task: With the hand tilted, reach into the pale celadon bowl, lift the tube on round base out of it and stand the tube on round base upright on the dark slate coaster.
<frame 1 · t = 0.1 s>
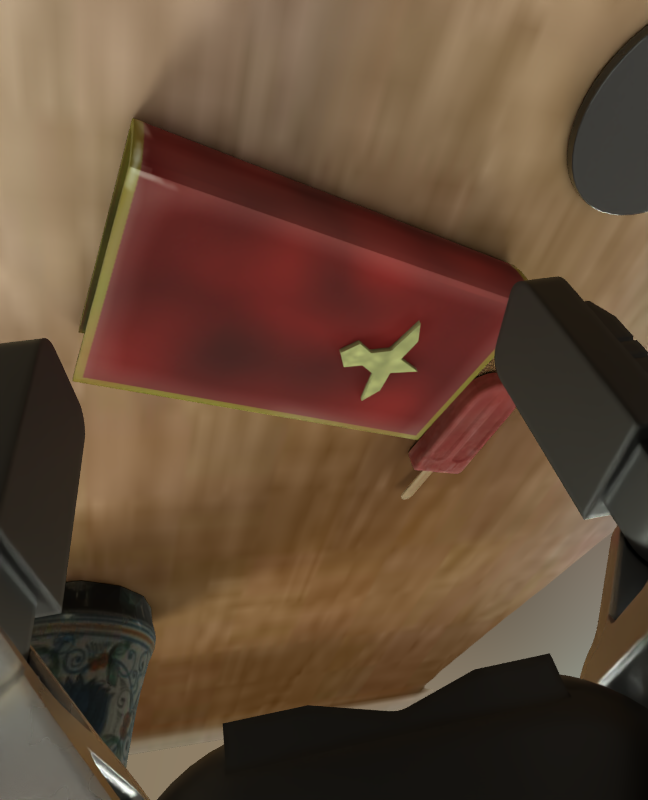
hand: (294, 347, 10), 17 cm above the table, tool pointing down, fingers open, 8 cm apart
popsicle: (445, 434, 45), on the table
hardcover book: (303, 289, 31), on the table
beer stein: (66, 620, 57), on the table
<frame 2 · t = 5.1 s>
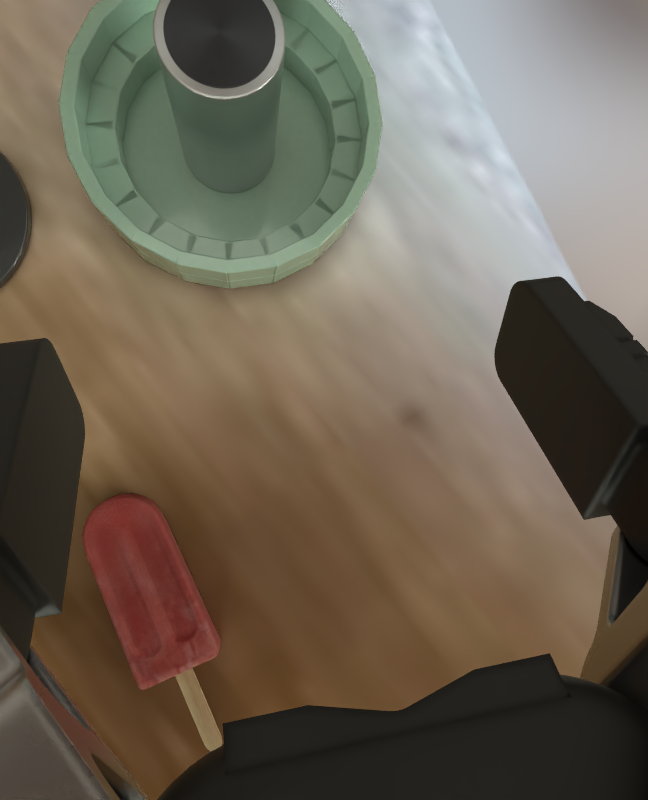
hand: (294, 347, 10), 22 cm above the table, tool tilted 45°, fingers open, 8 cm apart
bowl: (229, 153, 32), on the table
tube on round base: (229, 148, 31), point 1 cm above the table, touching bowl
popsicle: (167, 617, 32), on the table
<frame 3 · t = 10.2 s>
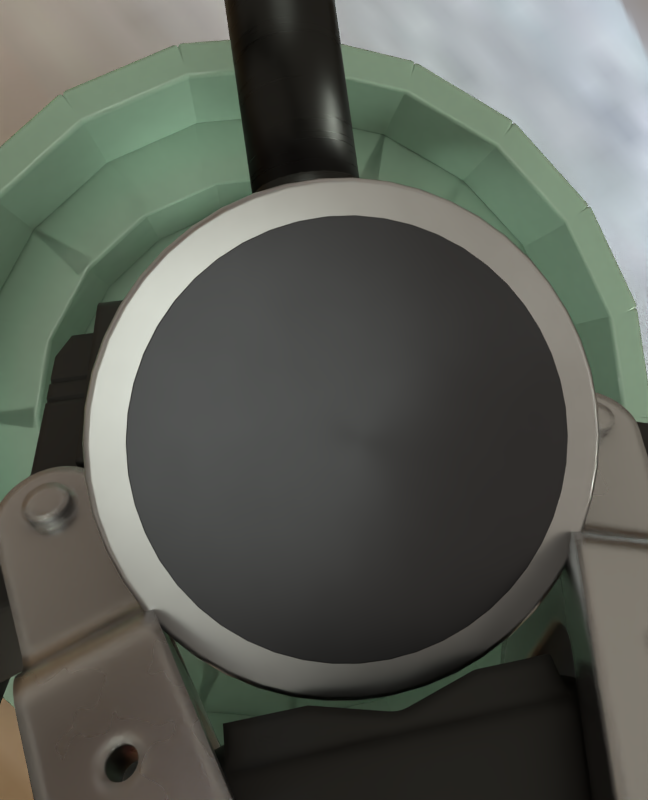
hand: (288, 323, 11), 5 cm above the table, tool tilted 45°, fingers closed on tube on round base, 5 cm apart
bowl: (286, 414, 16), on the table
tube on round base: (287, 414, 15), point 1 cm above the table, touching bowl, gripper
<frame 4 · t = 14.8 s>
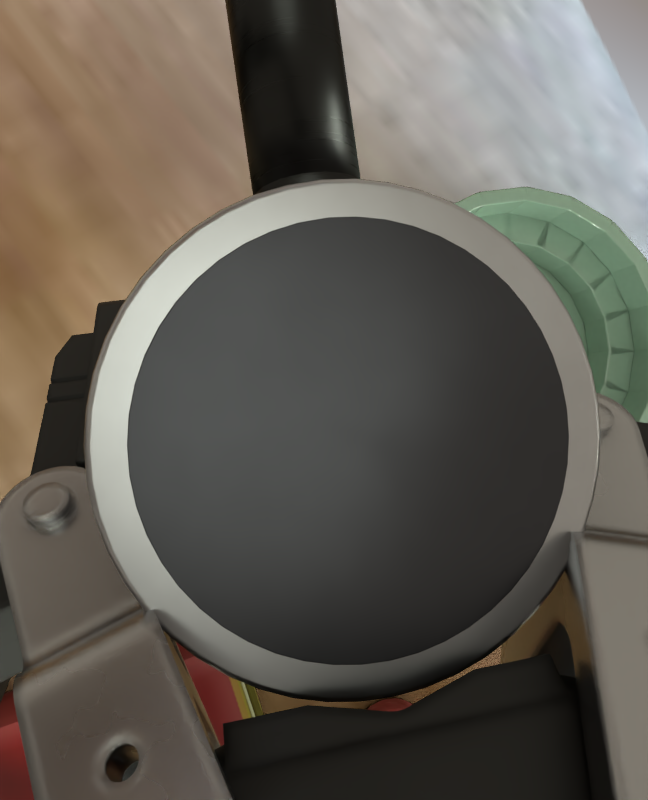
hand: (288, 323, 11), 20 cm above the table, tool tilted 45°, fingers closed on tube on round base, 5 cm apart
bowl: (488, 353, 32), on the table
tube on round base: (287, 414, 15), point 15 cm above the table, touching gripper
hardcover book: (68, 783, 29), on the table
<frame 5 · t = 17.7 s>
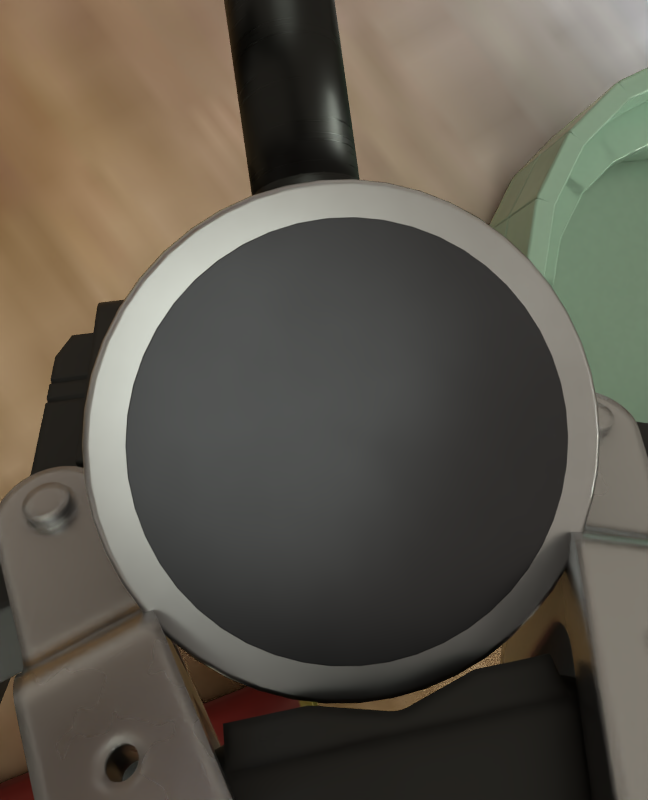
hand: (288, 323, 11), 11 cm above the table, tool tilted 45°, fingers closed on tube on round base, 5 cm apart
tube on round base: (287, 415, 15), point 6 cm above the table, touching gripper
when the fingers open (5 cm above the table, at t = 19.7 s): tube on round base stays where it is, resting on coaster.
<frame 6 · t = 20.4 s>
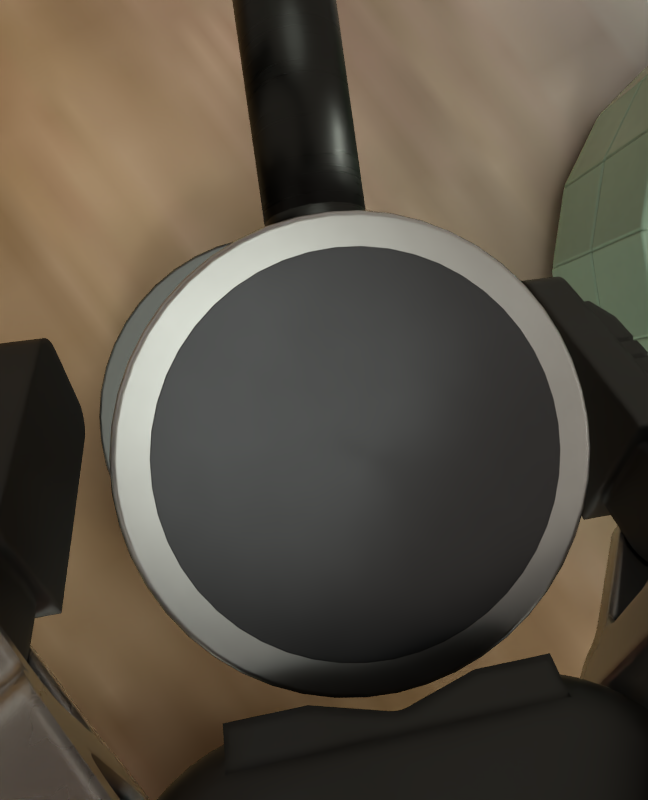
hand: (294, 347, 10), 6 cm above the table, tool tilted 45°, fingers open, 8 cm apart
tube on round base: (292, 420, 16), point 1 cm above the table, touching coaster
coaster: (285, 414, 16), on the table
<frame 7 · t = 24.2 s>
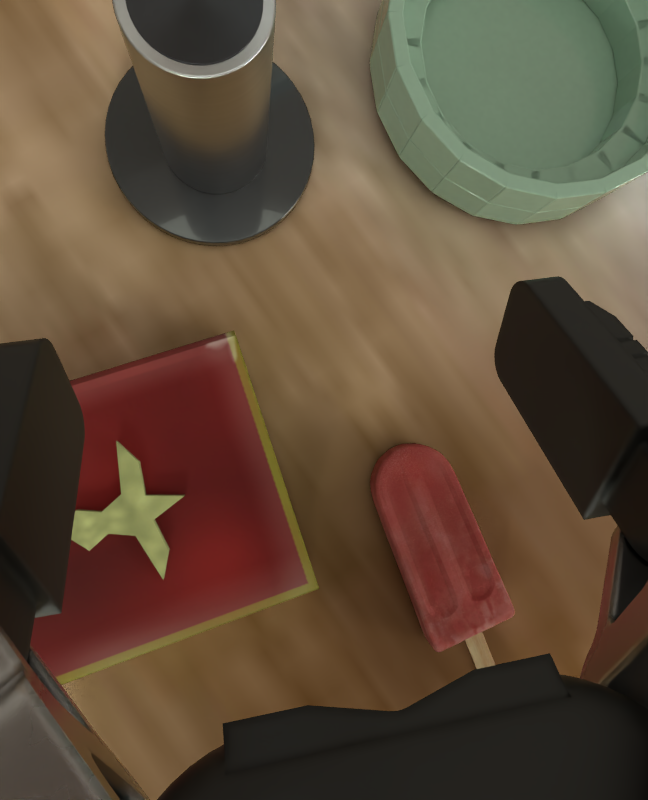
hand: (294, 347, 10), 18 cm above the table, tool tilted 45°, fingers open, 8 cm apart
bowl: (510, 81, 30), on the table
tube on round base: (214, 142, 27), point 1 cm above the table, touching coaster
popsicle: (445, 577, 30), on the table
hardcover book: (64, 520, 27), on the table
coaster: (212, 145, 28), on the table
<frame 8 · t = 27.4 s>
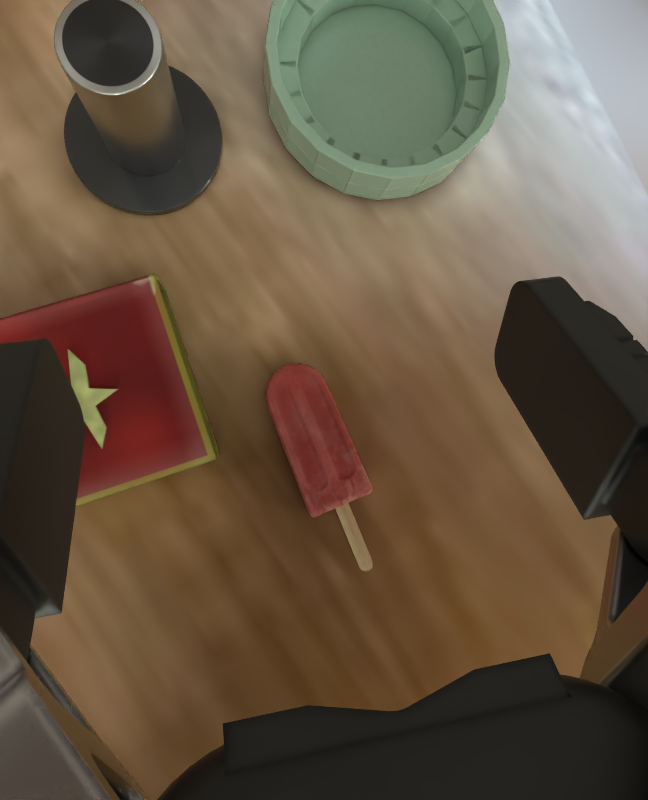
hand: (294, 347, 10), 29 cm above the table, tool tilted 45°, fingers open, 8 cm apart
bowl: (375, 92, 40), on the table
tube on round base: (146, 138, 37), point 1 cm above the table, touching coaster
popsicle: (325, 467, 39), on the table
hardcover book: (34, 417, 37), on the table
coaster: (145, 140, 38), on the table
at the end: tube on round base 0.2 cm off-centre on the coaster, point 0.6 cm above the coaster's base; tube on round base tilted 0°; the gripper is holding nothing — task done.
